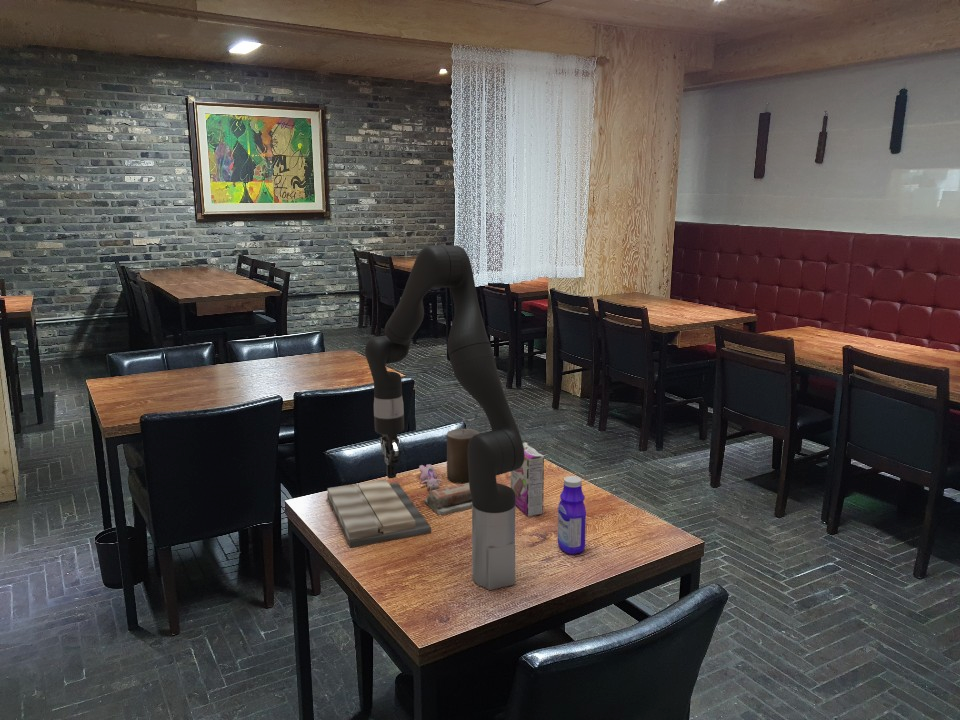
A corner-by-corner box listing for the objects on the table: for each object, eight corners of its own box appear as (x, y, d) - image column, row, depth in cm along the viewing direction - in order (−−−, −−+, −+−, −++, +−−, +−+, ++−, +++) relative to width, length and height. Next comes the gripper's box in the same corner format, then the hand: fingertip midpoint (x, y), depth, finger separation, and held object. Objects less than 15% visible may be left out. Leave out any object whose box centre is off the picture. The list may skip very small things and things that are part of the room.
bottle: (553, 543, 166) (554, 475, 162) (574, 539, 168) (576, 471, 164) (567, 557, 160) (569, 486, 156) (589, 553, 161) (591, 483, 158)
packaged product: (439, 500, 180) (423, 487, 188) (439, 517, 181) (423, 503, 189) (499, 486, 188) (481, 474, 197) (499, 503, 189) (481, 490, 198)
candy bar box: (509, 500, 190) (509, 443, 186) (525, 498, 191) (526, 441, 188) (526, 517, 180) (527, 458, 176) (544, 514, 181) (545, 455, 178)
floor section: (431, 532, 172) (430, 519, 171) (350, 547, 164) (349, 534, 163) (397, 487, 199) (397, 476, 198) (327, 498, 191) (326, 486, 190)
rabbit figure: (445, 496, 196) (434, 469, 210) (446, 477, 194) (434, 451, 207) (424, 498, 195) (413, 471, 208) (424, 480, 192) (414, 453, 206)
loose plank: (415, 528, 171) (415, 520, 170) (380, 534, 167) (380, 526, 167) (386, 485, 196) (385, 479, 196) (355, 490, 193) (354, 484, 192)
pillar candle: (475, 485, 200) (475, 435, 197) (442, 481, 202) (442, 432, 199) (482, 472, 209) (483, 425, 206) (451, 470, 212) (451, 422, 208)
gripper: (410, 418, 172) (412, 484, 176) (396, 404, 184) (398, 466, 188) (381, 422, 169) (383, 488, 173) (368, 408, 181) (371, 470, 185)
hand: (391, 477), depth 181 cm, fingers closed
